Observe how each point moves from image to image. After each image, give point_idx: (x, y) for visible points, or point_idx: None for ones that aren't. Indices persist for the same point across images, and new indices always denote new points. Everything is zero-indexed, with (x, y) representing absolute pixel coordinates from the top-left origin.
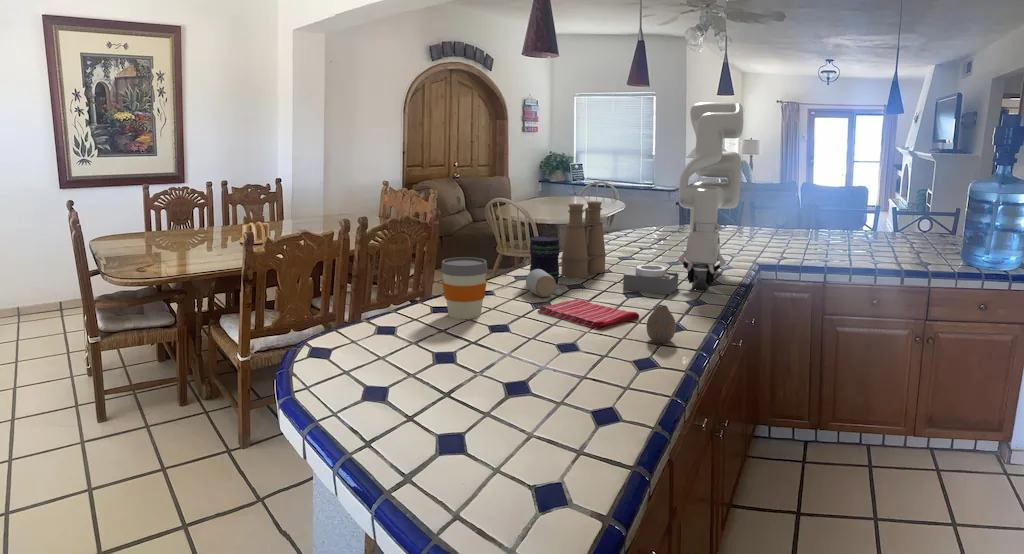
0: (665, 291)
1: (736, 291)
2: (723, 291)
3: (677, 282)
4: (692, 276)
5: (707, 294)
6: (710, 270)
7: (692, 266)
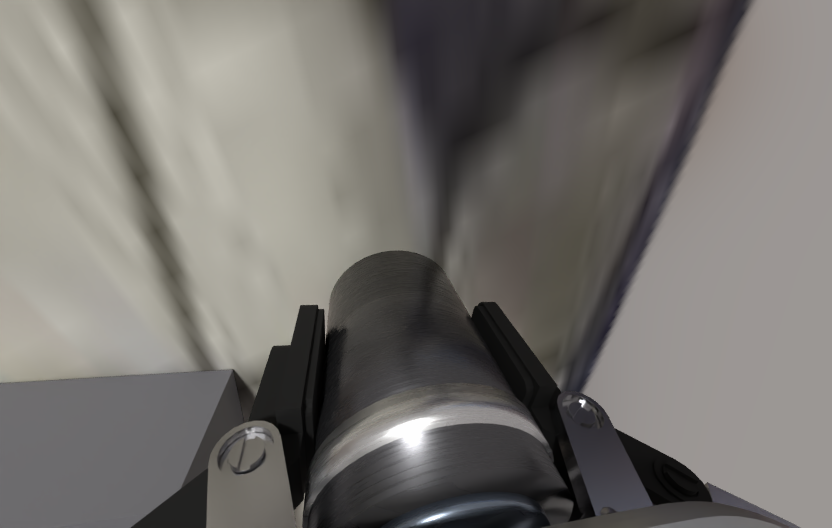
0: None
1: (628, 262)
2: (547, 299)
3: (216, 427)
4: (320, 390)
5: None
6: None
7: (281, 491)
